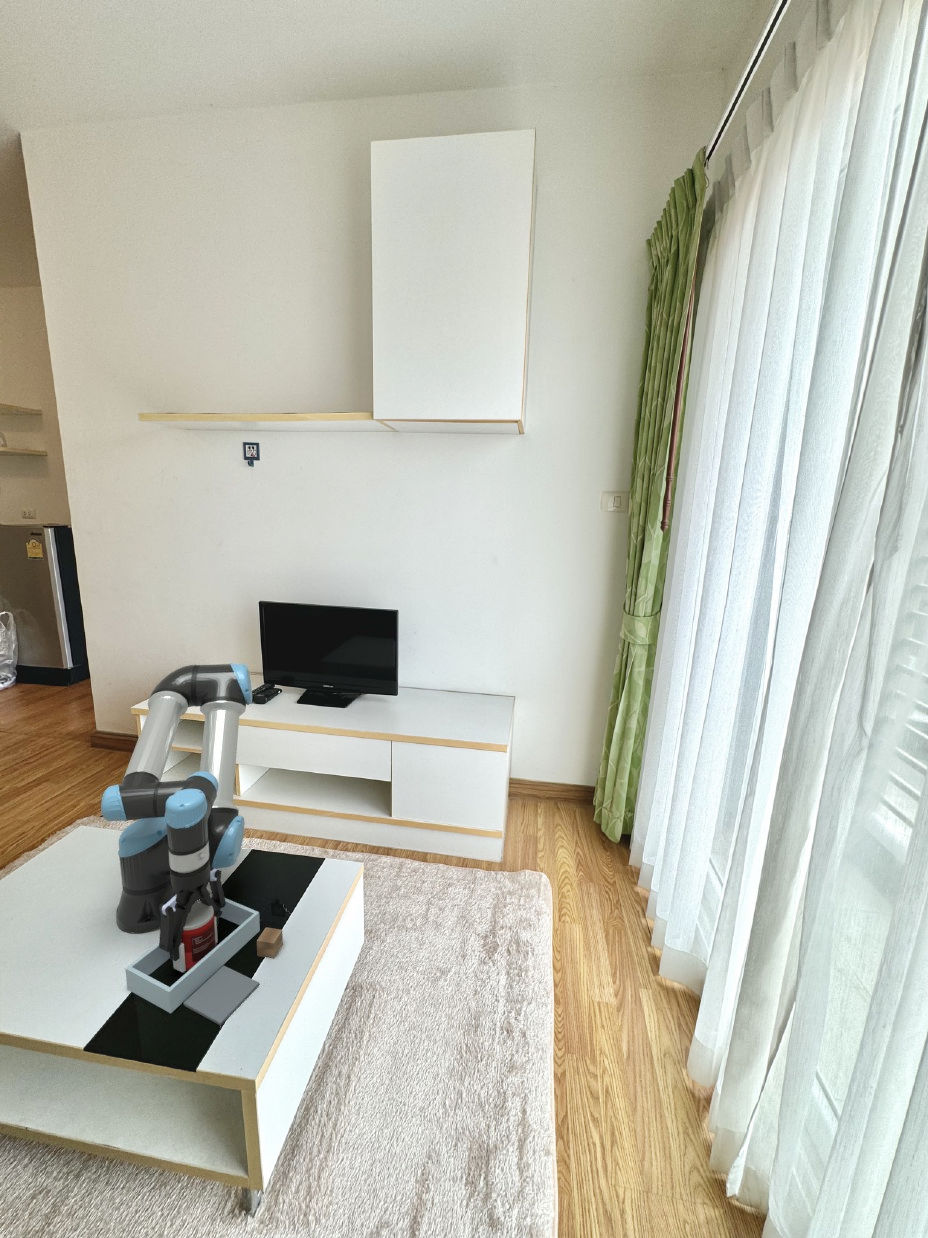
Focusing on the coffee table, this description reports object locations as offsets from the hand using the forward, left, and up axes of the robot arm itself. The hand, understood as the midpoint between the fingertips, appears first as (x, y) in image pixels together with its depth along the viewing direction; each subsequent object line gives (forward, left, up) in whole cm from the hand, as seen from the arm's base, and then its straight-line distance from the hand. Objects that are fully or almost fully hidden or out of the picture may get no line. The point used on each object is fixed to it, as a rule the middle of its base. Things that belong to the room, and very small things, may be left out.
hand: (196, 954), depth 118 cm
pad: (+12, -4, -1) cm, 13 cm away
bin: (0, 0, -1) cm, 1 cm away
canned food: (0, 0, -1) cm, 1 cm away
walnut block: (+13, +9, -1) cm, 15 cm away
